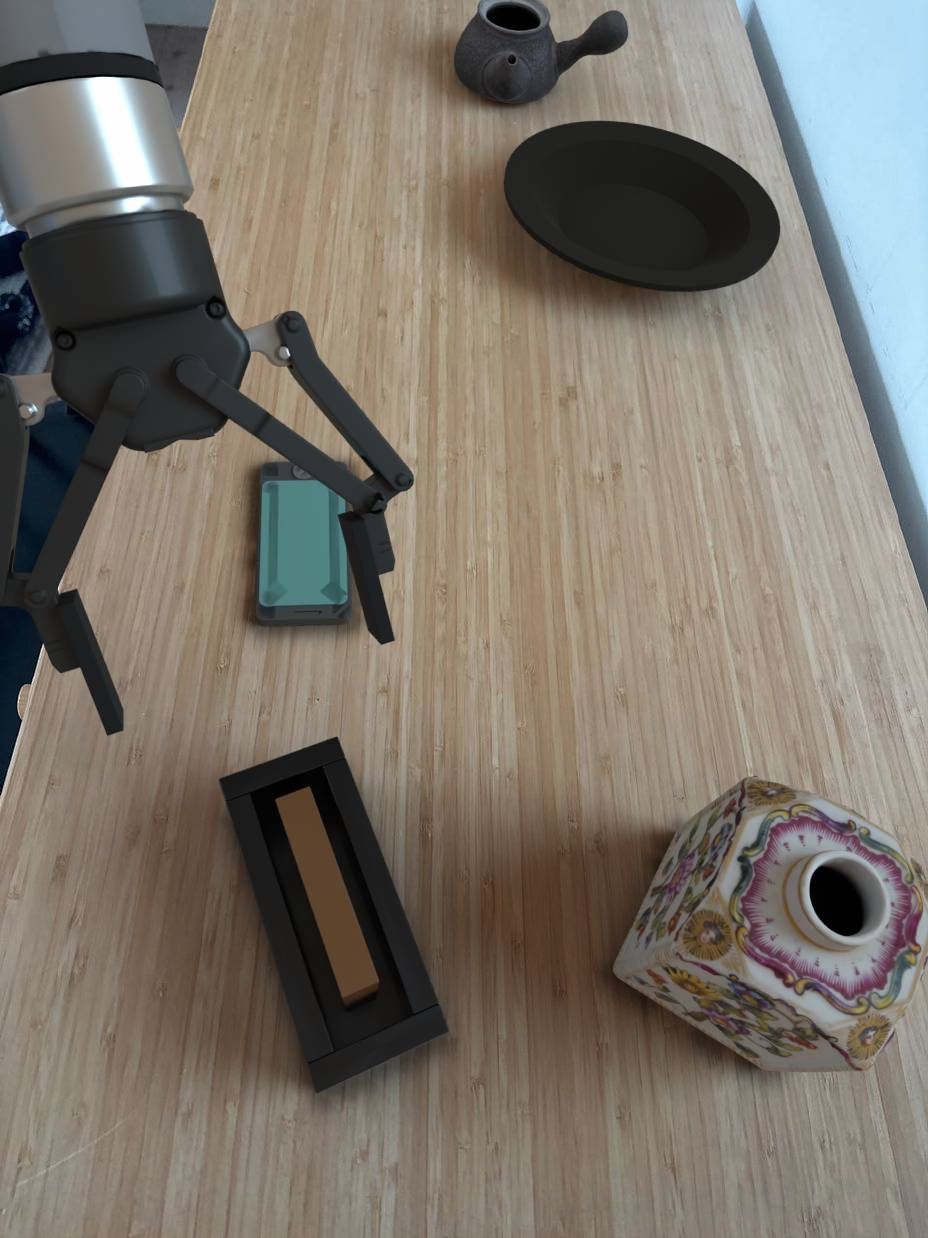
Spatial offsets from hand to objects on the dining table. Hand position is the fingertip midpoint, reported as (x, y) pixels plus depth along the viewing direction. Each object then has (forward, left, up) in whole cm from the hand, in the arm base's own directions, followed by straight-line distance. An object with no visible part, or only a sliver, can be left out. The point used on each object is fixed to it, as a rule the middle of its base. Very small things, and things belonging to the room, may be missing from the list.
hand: (254, 678), depth 44 cm
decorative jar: (+20, +25, -20) cm, 37 cm away
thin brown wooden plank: (+10, +1, -19) cm, 21 cm away
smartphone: (-19, +7, -20) cm, 28 cm away
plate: (-45, +49, -20) cm, 69 cm away
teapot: (-72, +49, -20) cm, 89 cm away
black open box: (+10, +1, -20) cm, 22 cm away
